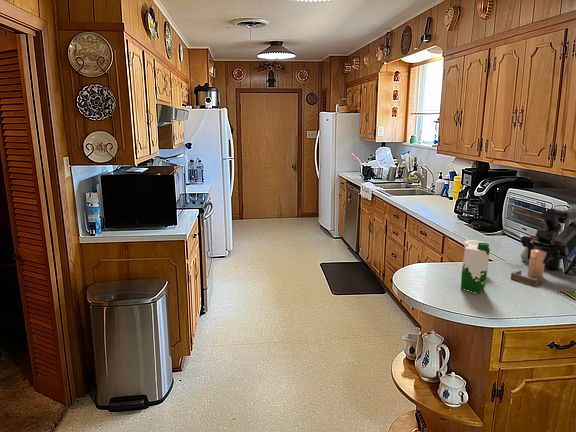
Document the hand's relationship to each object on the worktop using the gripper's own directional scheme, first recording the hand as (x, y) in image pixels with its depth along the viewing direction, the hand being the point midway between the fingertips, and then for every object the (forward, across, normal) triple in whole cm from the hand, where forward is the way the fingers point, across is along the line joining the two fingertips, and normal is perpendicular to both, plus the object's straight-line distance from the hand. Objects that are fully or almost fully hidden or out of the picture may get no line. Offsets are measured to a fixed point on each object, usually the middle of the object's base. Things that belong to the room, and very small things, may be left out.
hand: (535, 261), depth 192 cm
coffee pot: (-8, -14, +19) cm, 24 cm away
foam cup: (+16, -21, -5) cm, 26 cm away
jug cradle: (+10, 0, +1) cm, 10 cm away
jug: (+5, 0, +6) cm, 8 cm away
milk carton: (+31, -8, -20) cm, 38 cm away
